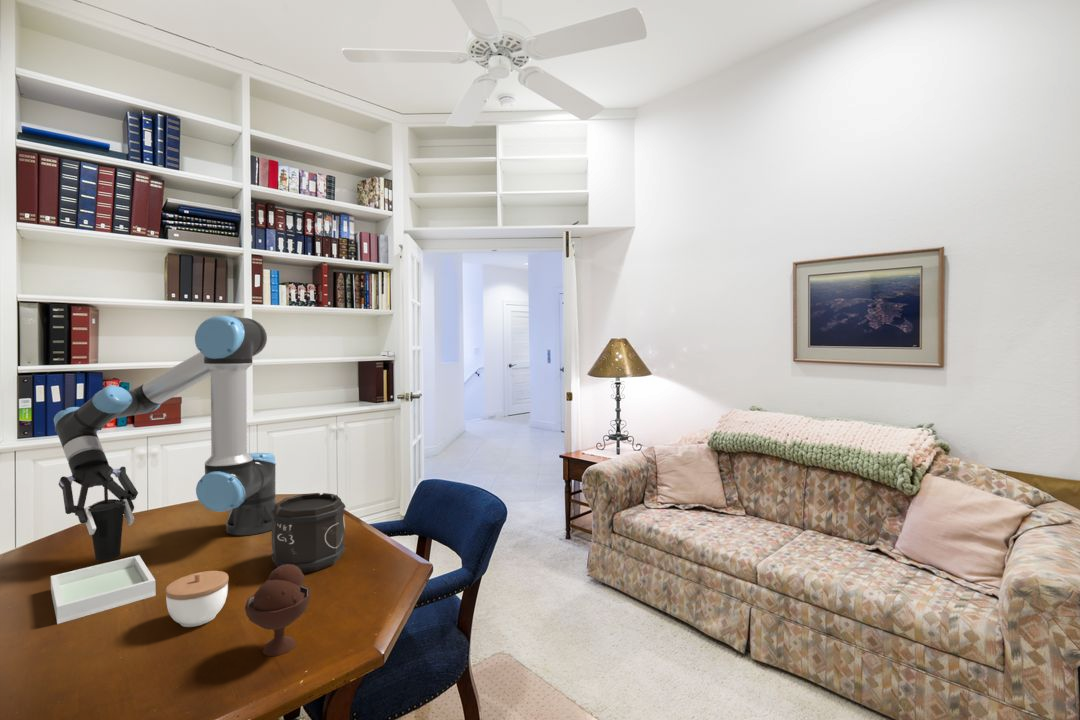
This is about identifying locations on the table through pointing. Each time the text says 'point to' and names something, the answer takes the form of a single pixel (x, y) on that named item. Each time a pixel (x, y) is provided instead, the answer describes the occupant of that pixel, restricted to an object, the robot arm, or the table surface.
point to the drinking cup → (107, 526)
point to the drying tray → (100, 588)
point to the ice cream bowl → (279, 606)
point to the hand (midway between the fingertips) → (112, 526)
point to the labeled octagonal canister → (308, 531)
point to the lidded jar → (197, 597)
